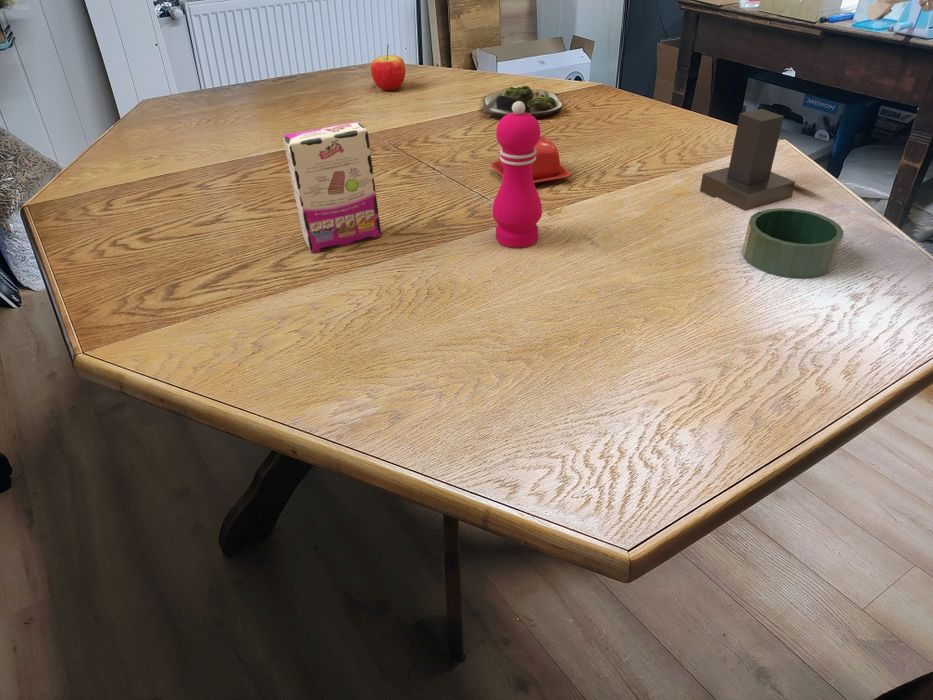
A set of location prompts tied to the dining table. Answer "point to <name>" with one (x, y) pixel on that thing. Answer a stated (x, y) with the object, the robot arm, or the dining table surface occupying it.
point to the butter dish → (542, 163)
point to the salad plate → (534, 101)
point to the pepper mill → (517, 180)
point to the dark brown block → (755, 146)
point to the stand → (746, 189)
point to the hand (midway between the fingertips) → (898, 10)
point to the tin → (792, 243)
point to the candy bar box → (333, 185)
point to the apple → (388, 71)
